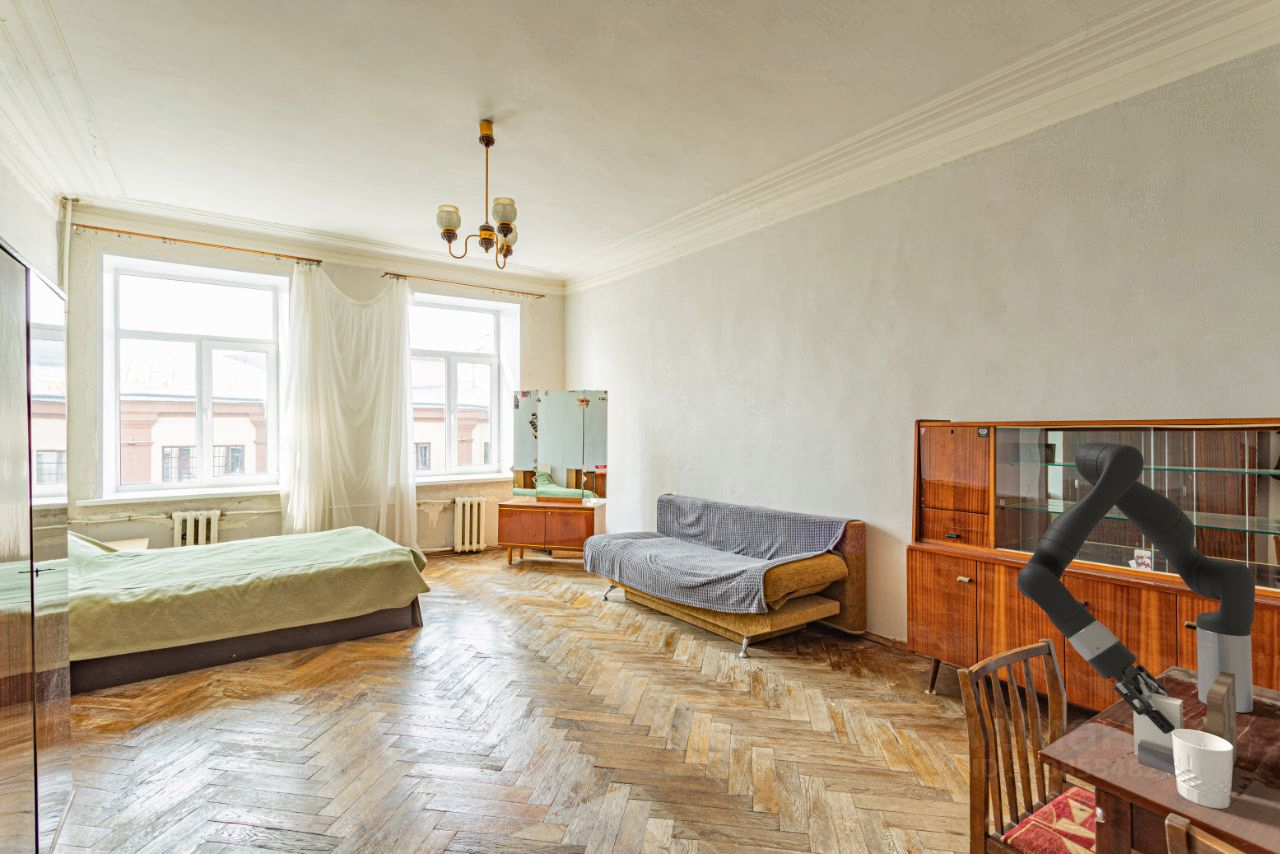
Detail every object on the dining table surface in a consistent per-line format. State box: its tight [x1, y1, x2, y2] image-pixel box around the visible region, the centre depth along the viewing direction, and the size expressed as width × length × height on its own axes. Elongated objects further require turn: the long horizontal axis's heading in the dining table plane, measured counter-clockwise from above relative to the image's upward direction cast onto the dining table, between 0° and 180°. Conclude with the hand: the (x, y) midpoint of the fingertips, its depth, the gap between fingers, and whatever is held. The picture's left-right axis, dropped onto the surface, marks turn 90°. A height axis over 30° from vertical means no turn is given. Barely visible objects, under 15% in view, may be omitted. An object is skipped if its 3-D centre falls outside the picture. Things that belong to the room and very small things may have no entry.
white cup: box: [1172, 728, 1234, 810], centre depth 107 cm, size 8×8×10 cm
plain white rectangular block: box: [1132, 692, 1184, 756], centre depth 120 cm, size 3×7×12 cm, turn 40°
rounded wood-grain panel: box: [1137, 671, 1238, 775], centre depth 119 cm, size 17×12×16 cm
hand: (1175, 724), depth 118 cm, fingers open, 8 cm apart
